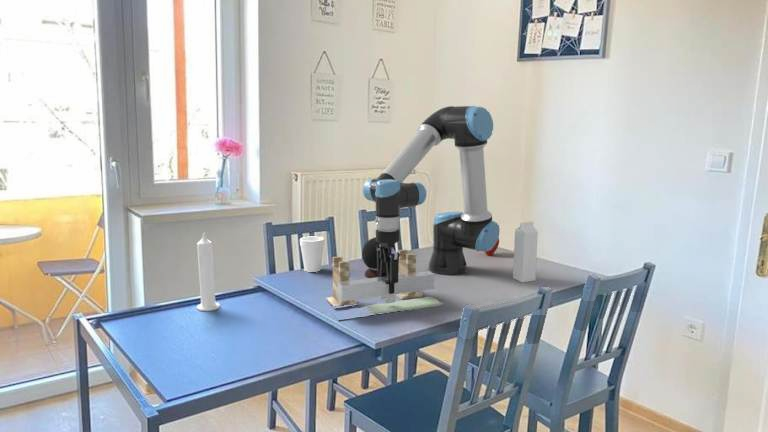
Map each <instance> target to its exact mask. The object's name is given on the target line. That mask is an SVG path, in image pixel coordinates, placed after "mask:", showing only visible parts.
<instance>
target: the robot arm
mask: <svg viewBox="0 0 768 432" xmlns="http://www.w3.org/2000/svg"><path fill="white" fill-rule="evenodd" d="M493 132H494V121H493V117H492V114H491V113H490V111H488V110H487V109H486V107H483V106H476V105H469V106H468V105H463V106H462V105H461V106H459V105H458V106H453V105H451V106H445V107H442V108H440V109H438V110H436V111H435V112H434V113H432V114H431V115H429V116H428V117H427V118H426V119H424V120H423V122H422V123H421V124H420V125H419V126H418V127H417V132H416V134H415V135H414V136H413V137H412V138H411V139H410V140H409V142H407V144H406V145H405V146H404V147H403V148H402V149H401V151H400V152H399V153H398V154H397V155H396V157H395V158H394V159H393V160H392V161H391V162H390V163H389V164H388V165H387V167H386V168H385V169H384V170H383V171H382V172H381V174H380V175H379V176H378V177H377V178H370V179H367V180H366V181H364V184H363V187H362V193H363V196H364V198H365V199H366V200H367V201H370V202H374V203H375V219H374V223H375V228H376V230H375V237H376V241H377V242H379V243H380V245H376V250H377V274H378V275H379V277H385V276H387V282H385V284H386V296H379V298H380V299H381V300H385V303H394V302H396V301H395V300H396V299H395V297H396V295H395V283H398V274H399V257H400V254H399V253H398V252H397V250H396V243H399V241H400V234H401V232H400V228H401V227H400V225H401V221H400V220H401V215H400V213H401V212H400V211H401V209H404V208H411V207H417V206H420V205H423V204H424V202H425V201H426V199H427V189H426V187H425V186H424V185H423V184H422V183H420V182H414V181H413V182H409V183H408V182H406V183H405V182H404V181H405V180H406V179H407V178H408V177H409V175H410V174H411V173H412V171H414V169H415V168H416V167H417V166H418V164H420V162H421V161H422V160H423V159H424V158H425V157H426V155H427V154H428V153H429V152H430V151H431V149H433V148H434V147H436V146H438V145H440V143H441V142H442V141H444V140H447V139H449V140H450V139H452V140H454V147H456V148H457V150H458V151H459V160H460V173H461V186H462V197H463V198H462V199H463V208H464V209H463V211H464V212H462V211H449V212H441V213H437V214H435V215H434V217H433V224H432V225H433V227H432V229H433V236H432V237H433V245H432V246H433V247H432V248H433V250H432V253H431V256H430V259H429V262H428V271H430V272H431V273H433V274H439V275H449V276H451V275H460V274H463V273H465V272H467V270H468V268H467V267H468V265H467V262H466V261H467V260H466V258H465V255H464V249H469V250H474V251H476V252H484V251H489V250H491V249H492V248H493V247H494V246H495V244H496V242H497V240H498V237H499V238H500V225H499V224H498V222H496V221H494V220H493V213H492V212H490V211H489V210H488V198H487V195H488V194H487V184H486V183H487V181H486V170H485V168H486V167H485V153H484V152H485V150H484V148H485V146H486V145H488V140H489V139H491V136H492V135H493Z"/></svg>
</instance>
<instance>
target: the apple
mask: <svg viewBox="0 0 768 432" xmlns="http://www.w3.org/2000/svg"><path fill="white" fill-rule="evenodd" d="M499 244H500V236H499V237H498V240H497V242H496V244H495V246H494V247H493V248H492V249H491V250H489V251H483V252H484V254H485V255H487V256H492V255H493V254H494V253H495V252H496V251H497V249H498V248H499Z"/></svg>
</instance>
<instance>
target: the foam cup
mask: <svg viewBox="0 0 768 432" xmlns="http://www.w3.org/2000/svg"><path fill="white" fill-rule="evenodd" d="M299 245H300V250H301V255H302V256H301V257H302V263H303V269H304V272H305V271H307V272H306V273H308V272H316V273H318V272H317V271H320V270H322V262H323V254H324V245H325V238H324V237H323V236H317V235H315V236H313V235H310V236H309V235H308V236H303V237H301V238H299ZM320 272H321V271H320Z"/></svg>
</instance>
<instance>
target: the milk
mask: <svg viewBox="0 0 768 432" xmlns="http://www.w3.org/2000/svg"><path fill="white" fill-rule="evenodd" d="M538 234H539V232H538V230H537V229H536V227H535V226H534V221H528V222H527V221H526V222H520V223H519V227H517V228H516V229H514V242H513V243H514V244H513V245H514V248H513V249H514V250H513V266H512V269H513V270H512V271H513V272H512V279H514V280H516V281H518V282H520V283H527V282H535V281H536V280H537V279H536V276H537V255H538V237H539V236H538Z"/></svg>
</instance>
